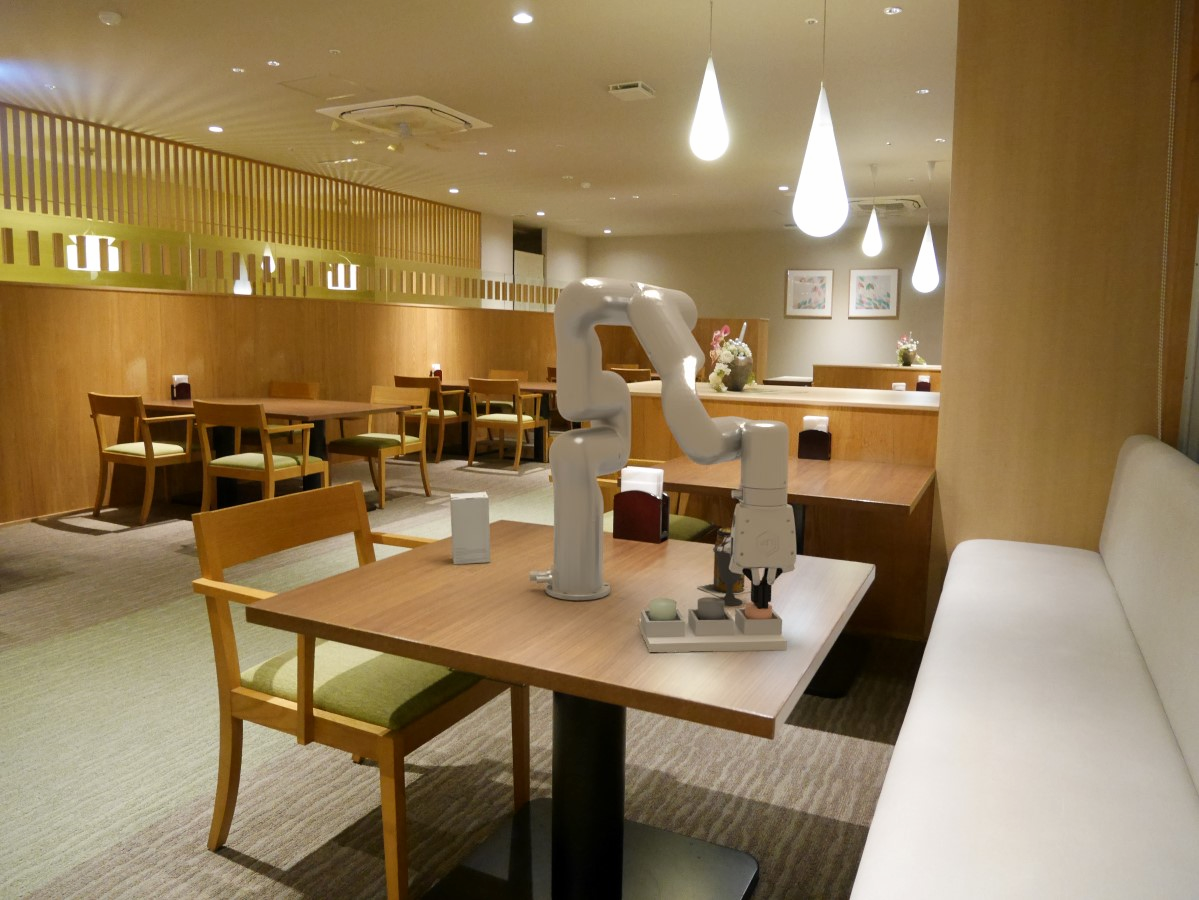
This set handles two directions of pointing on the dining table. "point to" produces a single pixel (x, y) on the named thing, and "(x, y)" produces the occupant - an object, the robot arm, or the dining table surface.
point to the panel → (712, 633)
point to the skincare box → (470, 527)
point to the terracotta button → (757, 612)
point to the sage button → (662, 609)
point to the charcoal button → (710, 608)
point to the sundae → (727, 571)
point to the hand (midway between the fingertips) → (760, 606)
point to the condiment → (719, 586)
